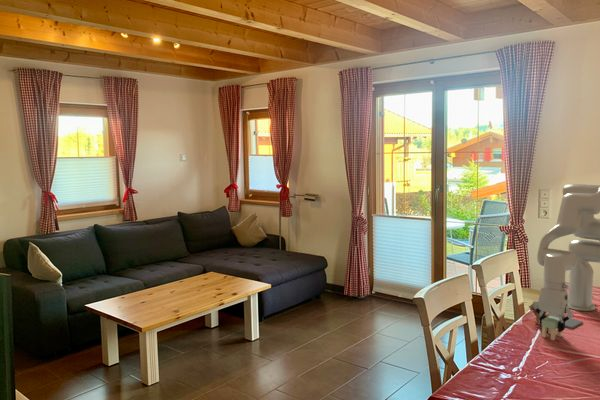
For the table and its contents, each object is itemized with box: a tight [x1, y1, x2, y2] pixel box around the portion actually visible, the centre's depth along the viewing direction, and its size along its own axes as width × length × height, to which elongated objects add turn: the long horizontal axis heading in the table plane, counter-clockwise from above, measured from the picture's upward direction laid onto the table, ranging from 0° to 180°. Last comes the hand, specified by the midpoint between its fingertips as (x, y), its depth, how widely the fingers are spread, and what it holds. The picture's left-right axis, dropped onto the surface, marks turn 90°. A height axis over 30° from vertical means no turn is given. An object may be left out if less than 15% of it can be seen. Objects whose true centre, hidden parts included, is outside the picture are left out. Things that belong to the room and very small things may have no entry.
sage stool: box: [541, 316, 563, 341], centre depth 191 cm, size 7×5×7 cm
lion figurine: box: [528, 301, 550, 332], centre depth 201 cm, size 15×5×9 cm, turn 8°
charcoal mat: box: [539, 312, 584, 330], centre depth 206 cm, size 10×14×1 cm
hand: (551, 328), depth 192 cm, fingers open, 6 cm apart
